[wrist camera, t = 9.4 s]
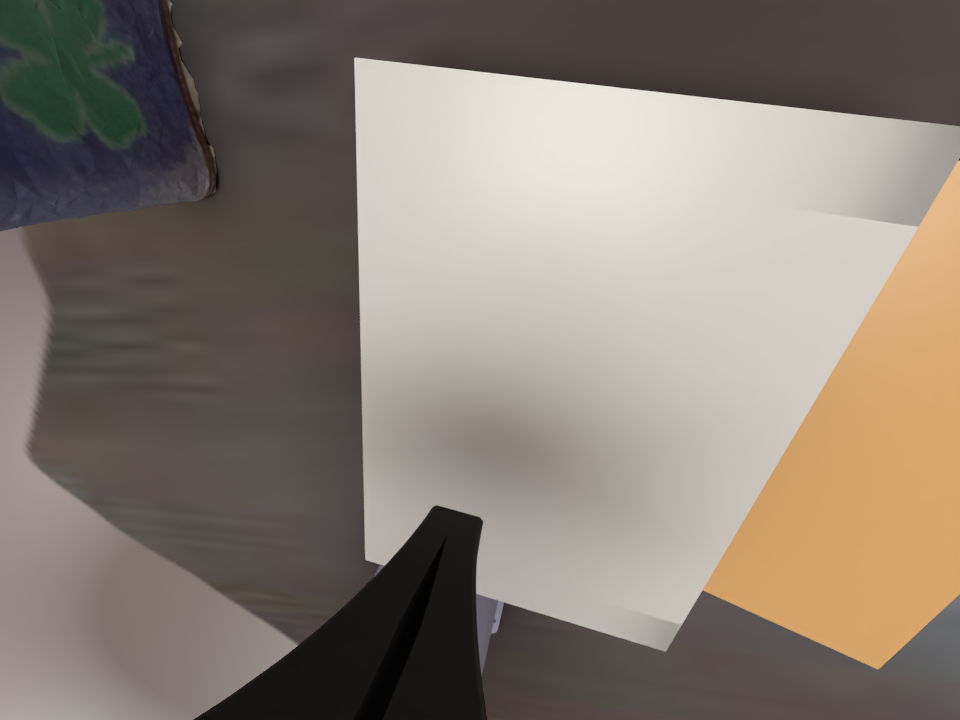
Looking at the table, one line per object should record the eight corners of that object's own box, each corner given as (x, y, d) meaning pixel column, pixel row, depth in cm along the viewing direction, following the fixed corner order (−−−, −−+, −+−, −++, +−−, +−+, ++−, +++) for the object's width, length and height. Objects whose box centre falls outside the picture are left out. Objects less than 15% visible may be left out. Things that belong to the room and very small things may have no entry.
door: (683, 565, 22) (871, 647, 19) (682, 581, 21) (878, 669, 18) (902, 155, 13) (1319, 204, 10) (916, 155, 12) (1372, 209, 9)
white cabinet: (652, 554, 23) (665, 651, 19) (405, 486, 25) (365, 559, 21) (853, 131, 13) (977, 128, 9) (422, 79, 15) (354, 57, 11)
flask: (228, 198, 19) (-110, 254, 10) (175, 198, 20) (-189, 249, 11) (154, -79, 15) (-539, -418, 6) (90, -69, 16) (-625, -359, 7)
